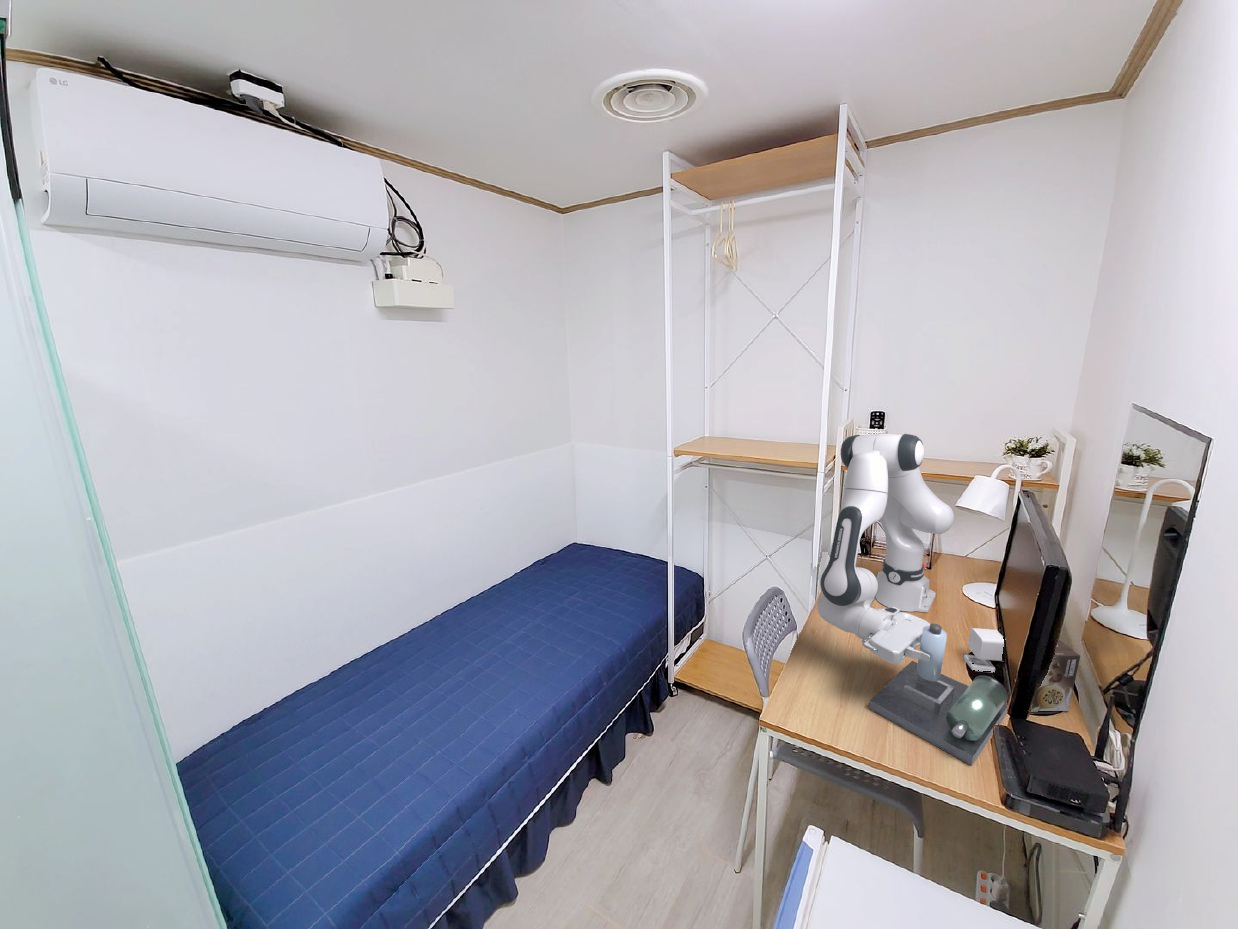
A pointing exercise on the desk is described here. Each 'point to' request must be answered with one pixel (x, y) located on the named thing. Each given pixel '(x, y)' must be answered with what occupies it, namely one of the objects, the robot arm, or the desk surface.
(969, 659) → the security camera
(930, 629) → the capped plastic bottle
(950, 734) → the motor mount
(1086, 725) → the desk surface
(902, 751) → the desk surface
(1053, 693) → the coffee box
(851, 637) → the desk surface
